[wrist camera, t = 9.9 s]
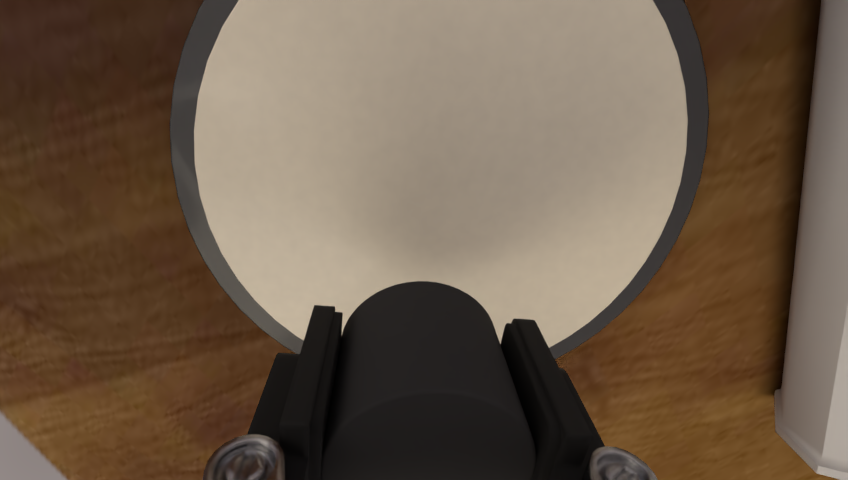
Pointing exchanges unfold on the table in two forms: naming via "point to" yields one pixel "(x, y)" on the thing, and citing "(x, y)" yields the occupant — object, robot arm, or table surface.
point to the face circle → (439, 153)
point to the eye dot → (424, 393)
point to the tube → (821, 269)
